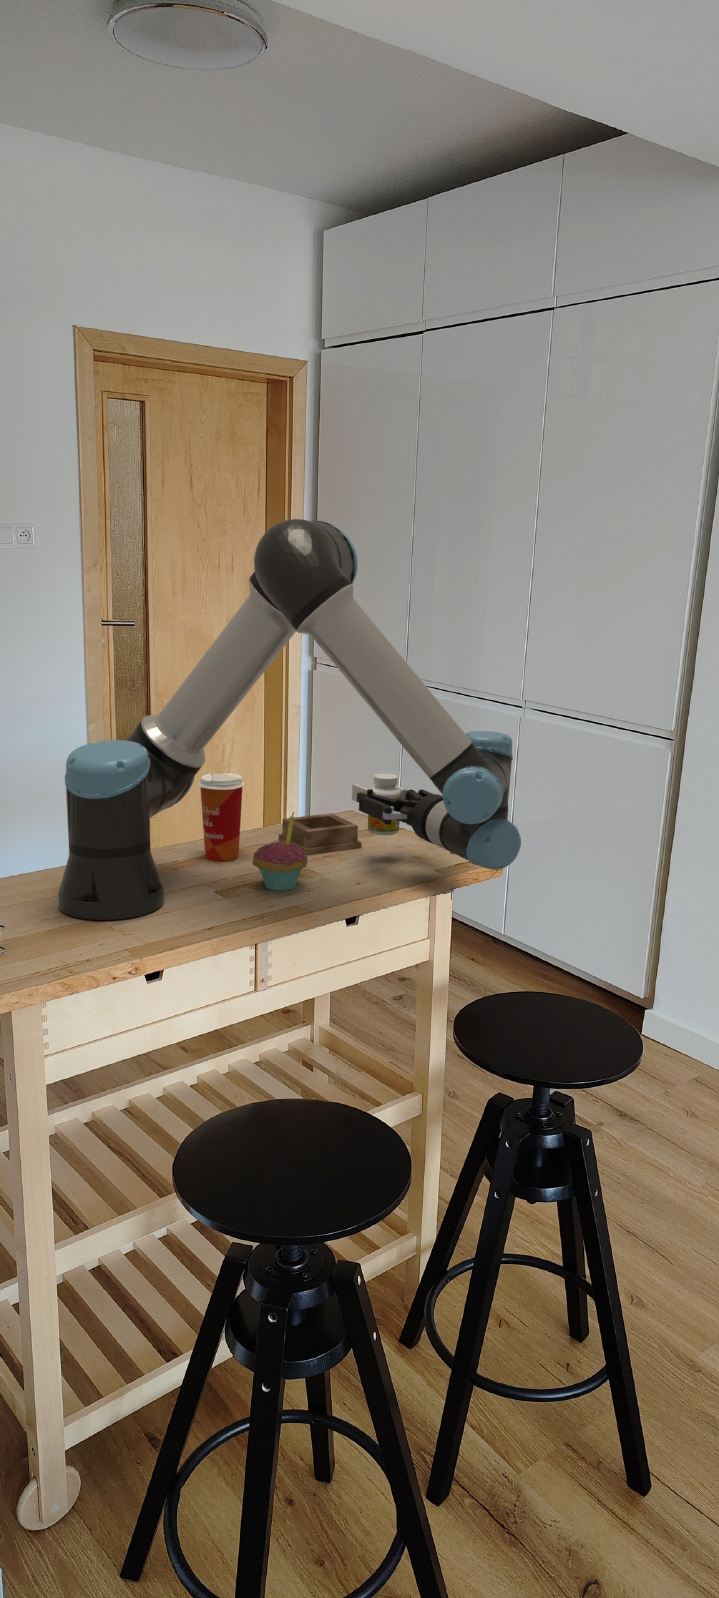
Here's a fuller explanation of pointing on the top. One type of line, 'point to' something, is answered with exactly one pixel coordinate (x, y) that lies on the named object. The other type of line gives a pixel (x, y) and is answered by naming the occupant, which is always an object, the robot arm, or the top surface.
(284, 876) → the cupcake
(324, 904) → the top surface
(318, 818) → the socket block
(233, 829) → the paper cup
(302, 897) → the top surface
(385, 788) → the supplement bottle
